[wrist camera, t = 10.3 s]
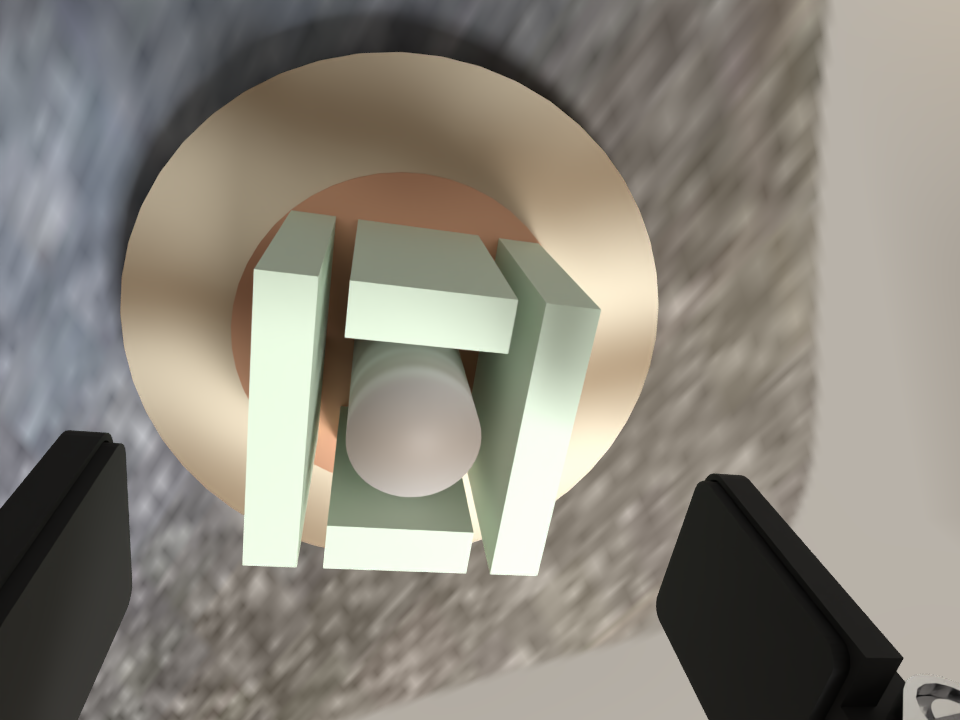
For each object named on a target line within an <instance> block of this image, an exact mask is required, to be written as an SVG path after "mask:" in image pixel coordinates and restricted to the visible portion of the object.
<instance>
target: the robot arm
mask: <svg viewBox="0 0 960 720" xmlns="http://www.w3.org/2000/svg"><path fill="white" fill-rule="evenodd" d="M131 591H132V570H131V550H130V530H129V510H128V490H127V470H126V452H125V447H124V445H123V444H120V443H113V440H112V437H111V435H110V434H109V433H101V432H87V431H72V430H68V431H65V432H63V433H62V434H61V435H60V437H59V438H58V439H57V440H56V441H55V443H54V444H53V445H52V446H51V448H50V449H49V450H48V451H47V452H46V454H45V455H44V456H43V457H42V459H41V460H40V461H39V462H38V463H37V465H36V466H35V467H34V468H33V470H32V471H31V472H30V473H29V474H28V476H27V477H26V478H25V479H24V481H23V482H22V483H21V484H20V485H19V487H18V488H17V489H16V490H15V492H14V493H13V494H12V495H11V496H10V498H9V499H8V500H7V501H6V503H5V504H4V505H3V506H2V507H1V509H0V720H78V718H79V716H80V713H81V711H82V709H83V707H84V704H85V702H86V700H87V698H88V695H89V693H90V691H91V689H92V686H93V684H94V682H95V680H96V677H97V675H98V673H99V671H100V668H101V666H102V664H103V662H104V659H105V657H106V655H107V653H108V650H109V648H110V646H111V644H112V641H113V639H114V637H115V635H116V632H117V630H118V628H119V626H120V623H121V621H122V619H123V617H124V614H125V612H126V610H127V607H128V605H129V601H130V597H131ZM656 610H657V615H658V618H659V621H660V623H661V625H662V627H663V629H664V631H665V633H666V635H667V637H668V639H669V641H670V643H671V645H672V647H673V649H674V651H675V653H676V655H677V657H678V659H679V661H680V663H681V665H682V667H683V669H684V671H685V673H686V675H687V677H688V679H689V681H690V683H691V685H692V687H693V689H694V691H695V693H696V695H697V697H698V699H699V701H700V703H701V705H702V707H703V709H704V711H705V713H706V715H707V717H708V719H709V720H960V684H959V683H957V682H954V681H952V680H949V679H947V678H944V677H940V676H935V675H930V674H921V675H914V676H912V677H911V678H909V679H907V680H906V682H905V681H904V680H903V679H902V678H901V677H900V675H899V674H898V673H897V672H896V671H897V669H898V667H899V665H900V664H901V662H902V660H903V657H902V656H901V655H900V653H899V652H898V651H897V650H896V649H895V648H894V647H893V645H892V644H891V643H890V642H889V641H888V640H887V639H886V637H885V636H884V635H883V634H882V633H881V631H880V630H879V629H878V628H877V627H876V626H875V625H874V624H873V623H872V621H871V620H870V619H869V618H868V616H867V615H866V614H865V613H864V612H863V611H862V610H861V608H860V607H859V606H858V605H857V604H856V603H855V602H854V600H853V599H852V598H851V597H850V596H849V595H848V593H847V592H846V591H845V590H844V589H843V588H842V587H841V585H840V584H839V583H838V582H837V581H836V580H835V578H834V577H833V576H832V575H831V574H830V573H829V572H828V570H827V569H826V568H825V567H824V566H823V565H822V564H821V562H820V561H819V560H818V559H817V558H816V556H815V555H814V554H813V553H812V552H811V551H810V550H809V548H808V547H807V546H806V545H805V544H804V543H803V542H802V540H801V539H800V538H799V537H798V536H797V535H796V533H795V532H794V531H793V530H792V529H791V528H790V527H789V525H788V524H787V523H786V522H785V521H784V520H783V518H782V517H781V516H780V515H779V514H778V513H777V512H776V510H775V509H774V508H773V507H772V506H771V505H770V503H769V502H768V501H767V500H766V499H765V498H764V497H763V495H762V494H761V493H760V492H759V491H758V490H757V488H756V487H755V486H754V485H753V484H752V483H751V482H750V480H749V479H747V478H746V477H745V476H741V475H728V474H710V475H709V476H708V477H707V478H706V479H705V481H701V482H699V483H698V484H697V486H696V488H695V491H694V494H693V496H692V499H691V502H690V505H689V508H688V511H687V514H686V516H685V519H684V522H683V525H682V528H681V531H680V533H679V536H678V539H677V542H676V545H675V548H674V550H673V553H672V556H671V559H670V562H669V565H668V568H667V570H666V573H665V576H664V579H663V582H662V585H661V587H660V590H659V593H658V596H657V601H656Z"/></svg>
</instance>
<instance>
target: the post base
mask: <svg viewBox="0 0 960 720" xmlns="http://www.w3.org/2000/svg"><path fill="white" fill-rule="evenodd" d="M291 210H293V211H300V212H308V213H315V214H323V215H330V216H336V224H335V236H334V248H333V261H332V273H331V285H330V297H329V309H328V321H327V333H326V345H325V358H324V370H323V382H322V394H321V406H320V418H319V430H318V441H317V447H316V453H315V459H314V465H313V471H312V477H311V483H310V489H309V495H308V501H307V507H306V513H305V519H304V525H303V532H302V538H301V541H303V542H306V543H309V544H312V545H315V546H319V547H324V548H325V542H326V531H327V522H328V513H329V504H330V495H331V486H332V477H333V468H334V460H335V451H336V442H337V433H338V424H339V415H340V406H346V407H348V418H347V429H346V449H347V454H348V457H349V460H350V462H351V464H352V466H353V468H354V469H355V471H356V472H357V473H358V474H359V476H360V477H361V478H362V479H363V480H364V481H366V482H367V483H368V484H369V485H371V486H372V487H374V488H376V489H378V490H380V491H382V492H385V493H387V494H391V495H395V496H401V497H421V496H427V495H431V494H434V493H437V492H440V491H442V490H444V489H447V488H448V487H450V486H452V485H453V484H455V483H456V482H457V481H459V480H460V479H461V478H462V479H463V483H464V488H465V493H466V498H467V503H468V507H469V512H470V517H471V522H472V527H473V531H474V534H473V539H472V542H475V541H478V540H481V539H482V536H481V531H480V527H479V522H478V518H477V513H476V509H475V505H474V500H473V496H472V491H471V487H470V482H469V478H468V473H467V472H468V471H469V469H470V468H471V467H472V465H473V463H474V462H475V460H476V458H477V455H478V453H479V449H480V445H481V427H480V422H479V419H478V415H477V412H476V408H475V405H474V401H473V398H472V389H473V384H474V378H475V372H476V366H477V361H478V355H479V351H474V350H464V349H454V348H444V347H434V346H424V345H414V344H404V343H394V342H384V341H375V340H365V339H355V338H345V328H346V317H347V307H348V296H349V285H350V276H351V269H352V262H353V254H354V247H355V239H356V232H357V225H358V219H360V220H368V221H375V222H383V223H390V224H398V225H405V226H412V227H420V228H427V229H435V230H442V231H450V232H457V233H465V234H472V235H479V237H480V239H481V240H482V242H483V243H484V245H485V247H486V248H487V250H488V252H489V253H490V255H491V256H492V258H493V260H494V261H495V257H496V252H497V246H498V240H499V238H502V239H510V240H517V241H525V242H532V243H539V244H540V245H541V246H542V247H543V248H544V249H545V250H546V251H547V253H548V254H549V255H550V256H551V257H552V258H553V259H554V260H555V261H556V262H557V263H558V264H559V265H560V266H561V267H562V268H563V270H564V271H565V272H566V273H567V274H568V275H569V276H570V277H571V278H572V279H573V280H574V281H575V282H576V283H577V284H578V285H579V286H580V288H581V289H582V290H583V291H584V292H585V293H586V294H587V295H588V296H589V297H590V298H591V299H592V300H593V301H594V302H595V303H596V305H597V306H598V307H599V308H600V309H601V313H600V317H599V322H598V326H597V330H596V334H595V338H594V342H593V346H592V351H591V355H590V359H589V363H588V367H587V371H586V375H585V380H584V384H583V388H582V392H581V396H580V400H579V404H578V409H577V413H576V417H575V421H574V425H573V429H572V434H571V438H570V442H569V446H568V450H567V454H566V458H565V463H564V467H563V471H562V475H561V479H560V483H559V487H558V492H557V496H556V500H557V499H558V498H560V497H561V496H562V495H564V494H565V493H566V492H568V491H569V490H570V489H571V488H572V487H573V486H574V485H575V484H576V483H578V482H579V481H580V480H581V479H582V478H583V477H584V476H585V475H586V474H587V473H588V472H589V471H590V470H591V469H592V468H593V467H594V466H595V464H596V463H597V462H598V461H599V460H600V458H601V457H602V456H603V455H604V454H605V452H606V451H607V450H608V449H609V448H610V446H611V445H612V443H613V442H614V440H615V439H616V437H617V436H618V434H619V433H620V431H621V430H622V428H623V426H624V425H625V423H626V422H627V420H628V418H629V416H630V414H631V412H632V410H633V408H634V406H635V404H636V402H637V400H638V398H639V396H640V393H641V390H642V387H643V384H644V381H645V378H646V376H647V373H648V370H649V367H650V363H651V358H652V353H653V348H654V344H655V339H656V330H657V317H658V290H657V274H656V268H655V263H654V258H653V253H652V248H651V243H650V240H649V237H648V234H647V231H646V228H645V225H644V222H643V219H642V216H641V213H640V210H639V208H638V206H637V205H636V203H635V201H634V199H633V197H632V195H631V193H630V191H629V189H628V187H627V185H626V183H625V181H624V179H623V178H622V176H621V175H620V174H619V172H618V171H617V169H616V168H615V166H614V165H613V164H612V162H611V161H610V159H609V158H608V156H607V155H606V154H605V152H604V151H603V150H602V149H601V148H600V147H599V145H598V144H597V143H596V142H595V141H594V140H593V139H592V138H591V137H590V136H589V135H588V134H587V133H586V132H585V130H584V129H583V128H582V127H581V126H580V125H579V124H578V123H576V122H575V121H574V120H573V119H571V118H570V117H569V116H568V115H566V114H565V113H564V112H563V111H561V110H560V109H559V108H558V107H556V106H555V105H554V104H553V103H552V102H550V101H549V100H547V99H545V98H544V97H542V96H540V95H539V94H537V93H535V92H534V91H532V90H530V89H528V88H527V87H525V86H523V85H522V84H520V83H518V82H517V81H514V80H512V79H509V78H507V77H505V76H502V75H500V74H497V73H495V72H493V71H490V70H488V69H485V68H483V67H481V66H477V65H473V64H469V63H465V62H461V61H457V60H453V59H450V58H446V57H442V56H433V55H424V54H415V53H406V52H385V53H359V54H353V55H348V56H342V57H336V58H331V59H325V60H319V61H316V62H313V63H310V64H307V65H304V66H301V67H298V68H295V69H292V70H289V71H286V72H283V73H280V74H278V75H276V76H274V77H272V78H270V79H268V80H267V81H265V82H263V83H261V84H259V85H257V86H255V87H253V88H251V89H249V90H247V91H245V92H243V93H242V94H240V95H239V96H237V97H236V98H235V99H233V100H232V101H230V102H229V103H228V104H226V105H225V106H223V107H222V108H221V109H219V110H218V111H216V112H215V113H213V114H212V115H211V116H210V117H209V118H208V119H207V120H206V121H205V122H204V123H202V124H201V125H200V126H199V127H198V128H197V129H196V130H195V131H194V132H193V133H192V134H191V135H190V136H189V137H188V138H187V139H186V140H185V141H184V142H183V143H182V144H181V145H180V147H179V148H178V149H177V151H176V152H175V153H174V155H173V156H172V157H171V159H170V160H169V161H168V163H167V164H166V165H165V166H164V168H163V169H162V170H161V172H160V173H159V175H158V176H157V178H156V180H155V182H154V184H153V186H152V188H151V189H150V191H149V193H148V195H147V197H146V199H145V200H144V202H143V204H142V206H141V208H140V211H139V214H138V217H137V220H136V222H135V225H134V228H133V231H132V234H131V236H130V239H129V242H128V247H127V252H126V258H125V263H124V268H123V273H122V283H121V310H120V314H121V323H122V332H123V341H124V348H125V352H126V356H127V360H128V364H129V367H130V371H131V375H132V379H133V382H134V384H135V387H136V389H137V391H138V394H139V396H140V398H141V401H142V403H143V406H144V408H145V410H146V412H147V414H148V416H149V417H150V419H151V421H152V422H153V424H154V426H155V427H156V429H157V431H158V433H159V434H160V436H161V438H162V439H163V441H164V442H165V443H166V445H167V446H168V447H169V448H170V450H171V451H172V452H173V453H174V455H175V456H176V457H177V458H178V460H179V461H180V462H181V464H182V465H183V466H184V467H185V468H186V469H187V470H188V471H189V472H190V473H191V474H192V475H193V476H194V477H195V478H196V479H197V480H198V481H199V482H200V483H201V484H202V485H203V486H204V487H205V488H207V489H208V490H209V491H210V492H212V493H213V494H214V495H216V496H217V497H218V498H220V499H221V500H222V501H223V502H225V503H226V504H227V505H229V506H230V507H231V508H233V509H235V510H236V511H238V512H240V513H241V514H243V515H244V514H245V488H246V462H247V436H248V410H249V383H250V357H251V331H252V305H253V279H254V268H255V267H256V265H257V263H258V262H259V260H260V259H261V257H262V256H263V254H264V252H265V251H266V249H267V248H268V246H269V244H270V243H271V241H272V240H273V238H274V237H275V235H276V233H277V232H278V230H279V229H280V227H281V226H282V224H283V222H284V221H285V219H286V218H287V216H288V214H289V213H290V211H291ZM556 500H555V501H556Z"/></svg>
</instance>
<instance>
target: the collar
mask: <svg viewBox="0 0 960 720" xmlns="http://www.w3.org/2000/svg"><path fill="white" fill-rule="evenodd" d="M335 224H336V216H330V215H323V214H315V213H308V212H300V211H293V210H291V211H290V213H289V214H288V216H287V218H286V219H285V221H284V222H283V224H282V226H281V227H280V229H279V230H278V232H277V233H276V235H275V237H274V238H273V240H272V241H271V243H270V244H269V246H268V248H267V249H266V251H265V252H264V254H263V256H262V257H261V259H260V260H259V262H258V263H257V265H256V267H255V268H254V279H253V305H252V331H251V357H250V383H249V410H248V436H247V462H246V488H245V514H244V540H243V565H250V566H277V567H297V562H298V556H299V550H300V544H301V538H302V532H303V525H304V519H305V513H306V507H307V501H308V495H309V489H310V483H311V477H312V471H313V465H314V459H315V453H316V447H317V441H318V430H319V418H320V406H321V394H322V382H323V370H324V358H325V345H326V333H327V321H328V309H329V297H330V285H331V273H332V261H333V248H334V236H335ZM600 313H601V309H600V308H599V307H598V306H597V305H596V303H595V302H594V301H593V300H592V299H591V298H590V297H589V296H588V295H587V294H586V293H585V292H584V291H583V290H582V289H581V288H580V286H579V285H578V284H577V283H576V282H575V281H574V280H573V279H572V278H571V277H570V276H569V275H568V274H567V273H566V272H565V271H564V270H563V268H562V267H561V266H560V265H559V264H558V263H557V262H556V261H555V260H554V259H553V258H552V257H551V256H550V255H549V254H548V253H547V251H546V250H545V249H544V248H543V247H542V246H541V245H540V244H539V243H532V242H525V241H517V240H510V239H502V238H499V240H498V246H497V252H496V257H495V261H494V260H493V258H492V256H491V255H490V253H489V252H488V250H487V248H486V247H485V245H484V243H483V242H482V240H481V239H480V237H479V235H472V234H465V233H457V232H450V231H442V230H435V229H427V228H420V227H412V226H405V225H398V224H390V223H383V222H375V221H368V220H360V219H358V225H357V232H356V239H355V247H354V254H353V262H352V269H351V276H350V285H349V296H348V307H347V317H346V328H345V338H355V339H365V340H375V341H384V342H394V343H404V344H414V345H424V346H434V347H444V348H454V349H464V350H474V351H479V355H478V361H477V366H476V372H475V378H474V384H473V389H472V398H473V401H474V405H475V408H476V412H477V415H478V419H479V422H480V427H481V445H480V449H479V453H478V455H477V458H476V460H475V462H474V463H473V465H472V467H471V468H470V469H469V471H468V472H467V473H468V478H469V482H470V487H471V491H472V496H473V500H474V505H475V509H476V513H477V518H478V522H479V527H480V531H481V536H482V540H483V545H484V549H485V554H486V558H487V563H488V567H489V572H490V574H499V575H527V576H537V575H538V570H539V566H540V562H541V558H542V554H543V550H544V546H545V541H546V537H547V533H548V529H549V525H550V521H551V516H552V512H553V508H554V504H555V500H556V496H557V492H558V487H559V483H560V479H561V475H562V471H563V467H564V463H565V458H566V454H567V450H568V446H569V442H570V438H571V434H572V429H573V425H574V421H575V417H576V413H577V409H578V404H579V400H580V396H581V392H582V388H583V384H584V380H585V375H586V371H587V367H588V363H589V359H590V355H591V351H592V346H593V342H594V338H595V334H596V330H597V326H598V322H599V317H600ZM347 418H348V407H346V406H340V415H339V424H338V433H337V442H336V451H335V460H334V468H333V477H332V486H331V495H330V504H329V513H328V522H327V531H326V542H325V553H324V564H323V568H333V569H360V570H388V571H416V572H444V573H466V571H467V565H468V560H469V555H470V550H471V545H472V539H473V534H474V531H473V527H472V522H471V517H470V512H469V507H468V503H467V498H466V493H465V488H464V483H463V479H462V478H461V479H460V480H459V481H457V482H456V483H455V484H453V485H452V486H450V487H448V488H447V489H444V490H442V491H440V492H437V493H434V494H431V495H427V496H421V497H401V496H395V495H391V494H387V493H385V492H382V491H380V490H378V489H376V488H374V487H372V486H371V485H369V484H368V483H367V482H366V481H364V480H363V479H362V478H361V477H360V476H359V474H358V473H357V472H356V471H355V469H354V468H353V466H352V464H351V462H350V460H349V457H348V454H347V449H346V429H347Z"/></svg>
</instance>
